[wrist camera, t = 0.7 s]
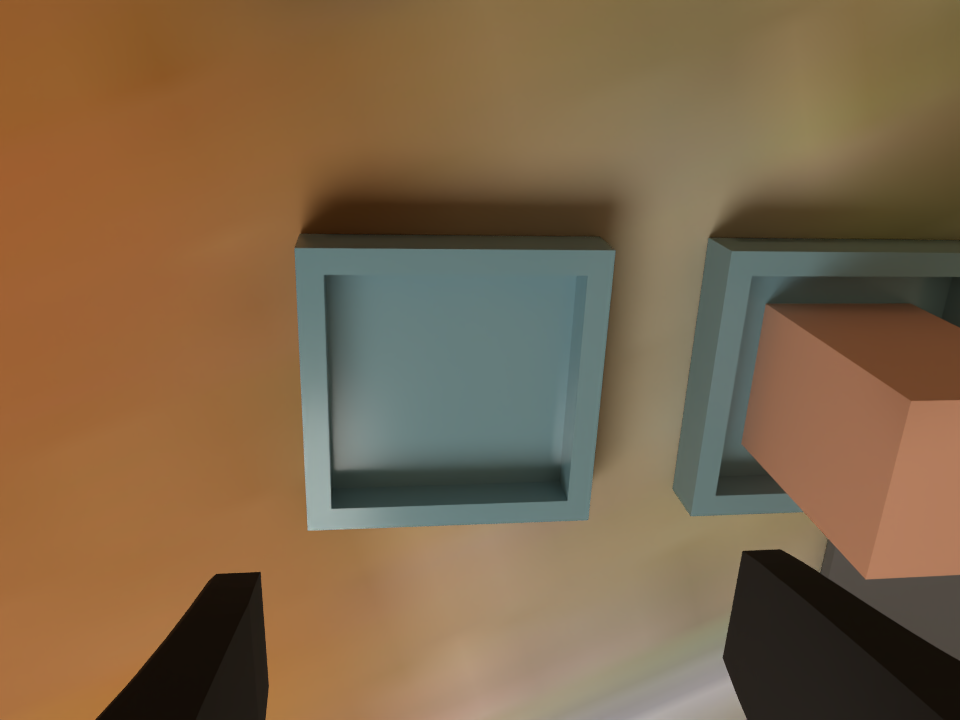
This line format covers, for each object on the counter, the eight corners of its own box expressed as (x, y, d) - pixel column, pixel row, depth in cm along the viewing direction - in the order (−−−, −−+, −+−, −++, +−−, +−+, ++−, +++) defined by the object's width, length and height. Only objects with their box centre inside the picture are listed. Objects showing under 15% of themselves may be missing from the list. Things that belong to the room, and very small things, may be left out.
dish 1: (575, 492, 22) (588, 520, 21) (311, 501, 21) (307, 530, 20) (599, 236, 20) (615, 250, 18) (299, 233, 19) (294, 248, 18)
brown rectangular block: (879, 440, 23) (1045, 570, 17) (741, 443, 22) (865, 579, 16) (912, 303, 21) (1105, 397, 16) (765, 303, 21) (911, 400, 15)
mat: (1024, 723, 28) (1033, 732, 28) (782, 742, 27) (787, 751, 27) (1107, 500, 25) (1118, 507, 25) (835, 510, 24) (842, 517, 23)
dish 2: (907, 481, 24) (939, 506, 22) (672, 488, 23) (690, 516, 21) (971, 240, 21) (1010, 253, 20) (708, 237, 20) (731, 251, 19)
